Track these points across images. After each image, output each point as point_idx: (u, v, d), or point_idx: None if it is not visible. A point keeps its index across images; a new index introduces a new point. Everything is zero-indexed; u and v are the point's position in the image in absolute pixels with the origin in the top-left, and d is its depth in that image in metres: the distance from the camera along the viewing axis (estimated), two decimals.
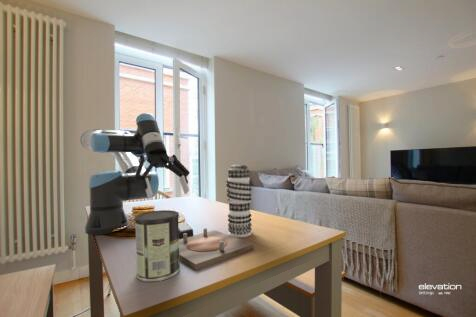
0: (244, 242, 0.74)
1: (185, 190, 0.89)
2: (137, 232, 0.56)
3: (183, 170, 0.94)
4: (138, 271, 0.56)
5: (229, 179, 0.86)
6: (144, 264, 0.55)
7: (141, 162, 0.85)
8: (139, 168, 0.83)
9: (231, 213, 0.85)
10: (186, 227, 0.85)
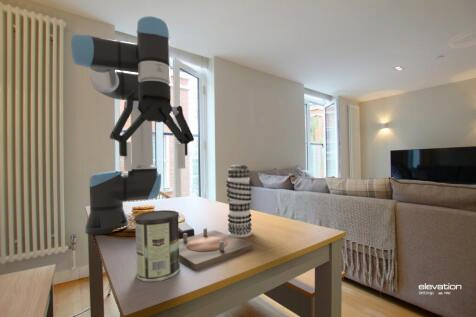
0: (244, 242, 0.74)
1: (180, 165, 0.64)
2: (137, 232, 0.56)
3: None
4: (138, 271, 0.56)
5: (229, 179, 0.86)
6: (144, 264, 0.55)
7: (126, 113, 0.54)
8: (121, 123, 0.53)
9: (231, 213, 0.85)
10: (187, 227, 0.85)
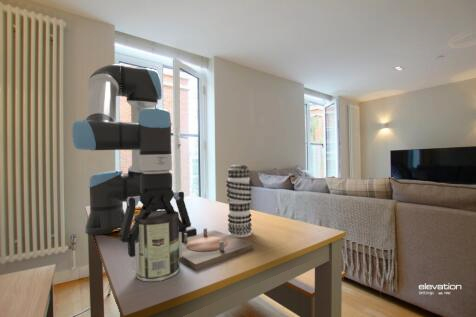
0: (244, 242, 0.74)
1: None
2: None
3: None
4: (138, 271, 0.56)
5: (229, 179, 0.86)
6: (144, 264, 0.55)
7: (130, 213, 0.54)
8: (127, 225, 0.54)
9: (231, 213, 0.85)
10: (188, 227, 0.85)
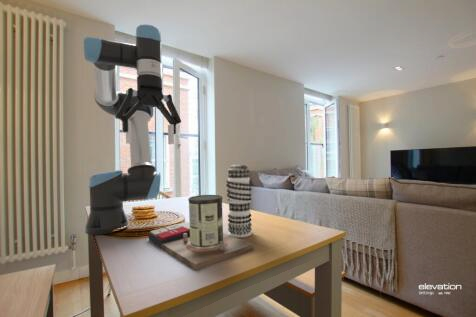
0: (244, 242, 0.74)
1: (170, 141, 0.81)
2: (192, 210, 0.70)
3: (175, 116, 0.82)
4: (192, 241, 0.70)
5: (229, 179, 0.86)
6: (199, 235, 0.69)
7: (128, 98, 0.71)
8: (123, 106, 0.71)
9: (231, 213, 0.85)
10: None
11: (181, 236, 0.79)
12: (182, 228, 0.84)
